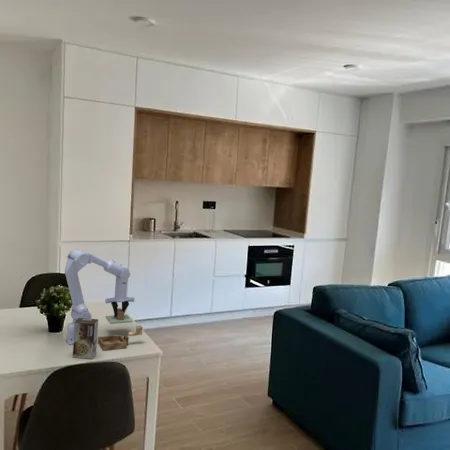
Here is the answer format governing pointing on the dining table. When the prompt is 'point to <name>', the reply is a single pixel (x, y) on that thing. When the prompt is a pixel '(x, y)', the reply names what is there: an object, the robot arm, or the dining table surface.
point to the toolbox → (113, 342)
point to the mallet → (138, 331)
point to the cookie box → (85, 338)
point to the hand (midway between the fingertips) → (118, 315)
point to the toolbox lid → (119, 317)
